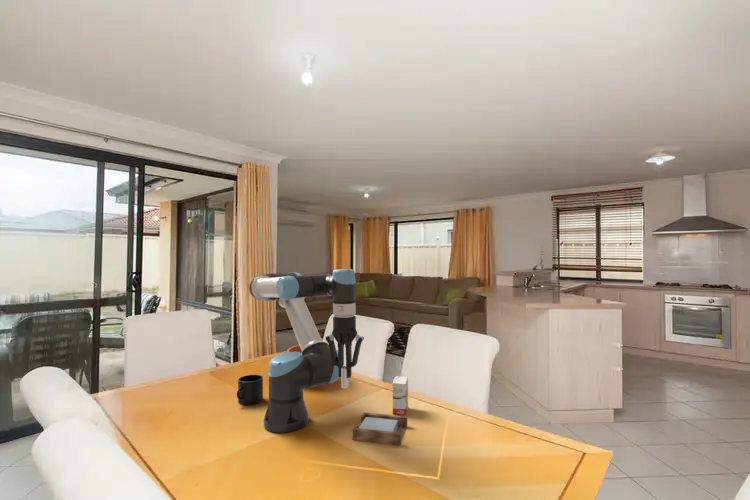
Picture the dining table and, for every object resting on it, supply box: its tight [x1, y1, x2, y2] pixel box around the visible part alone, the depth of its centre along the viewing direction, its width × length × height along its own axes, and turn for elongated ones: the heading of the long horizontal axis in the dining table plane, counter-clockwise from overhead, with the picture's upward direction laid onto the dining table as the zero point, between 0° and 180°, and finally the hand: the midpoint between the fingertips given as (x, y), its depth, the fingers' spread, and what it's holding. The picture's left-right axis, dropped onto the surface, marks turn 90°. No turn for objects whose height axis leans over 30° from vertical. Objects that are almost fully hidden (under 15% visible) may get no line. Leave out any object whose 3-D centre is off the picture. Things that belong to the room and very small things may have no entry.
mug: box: [236, 374, 264, 406], centre depth 151 cm, size 9×12×9 cm
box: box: [352, 412, 408, 446], centre depth 122 cm, size 15×13×4 cm
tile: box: [358, 417, 398, 432], centre depth 122 cm, size 11×9×3 cm
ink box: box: [392, 375, 409, 416], centre depth 139 cm, size 9×5×12 cm, turn 168°
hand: (345, 387), depth 125 cm, fingers closed
